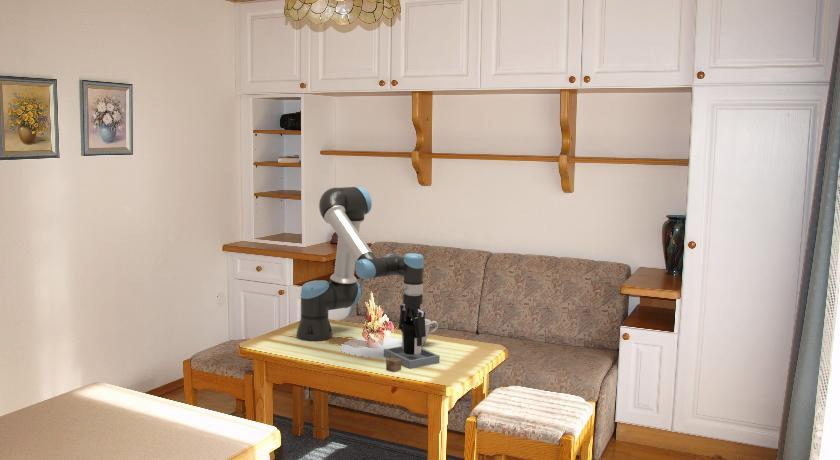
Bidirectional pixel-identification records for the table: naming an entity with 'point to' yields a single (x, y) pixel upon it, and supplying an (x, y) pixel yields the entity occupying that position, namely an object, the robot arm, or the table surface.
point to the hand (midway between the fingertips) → (411, 350)
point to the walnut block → (393, 364)
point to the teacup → (427, 325)
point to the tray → (412, 357)
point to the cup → (409, 337)
